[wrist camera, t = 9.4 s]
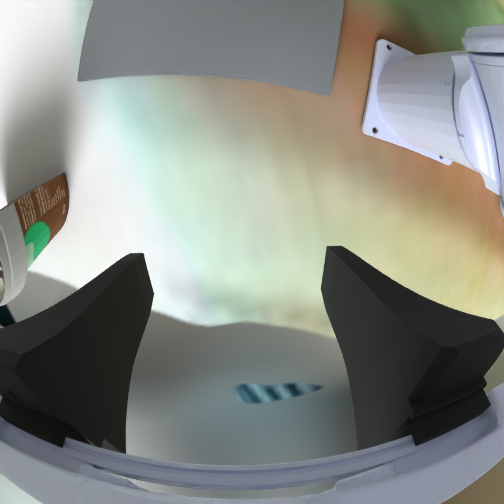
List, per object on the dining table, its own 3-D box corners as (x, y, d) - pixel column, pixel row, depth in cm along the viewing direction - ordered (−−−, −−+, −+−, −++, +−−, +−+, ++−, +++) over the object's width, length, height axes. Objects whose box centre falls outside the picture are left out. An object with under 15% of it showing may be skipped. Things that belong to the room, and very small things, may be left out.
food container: (23, 258, 22) (-28, 317, 13) (1, 208, 19) (-61, 258, 10) (102, 232, 21) (40, 309, 12) (76, 166, 18) (-8, 217, 9)
